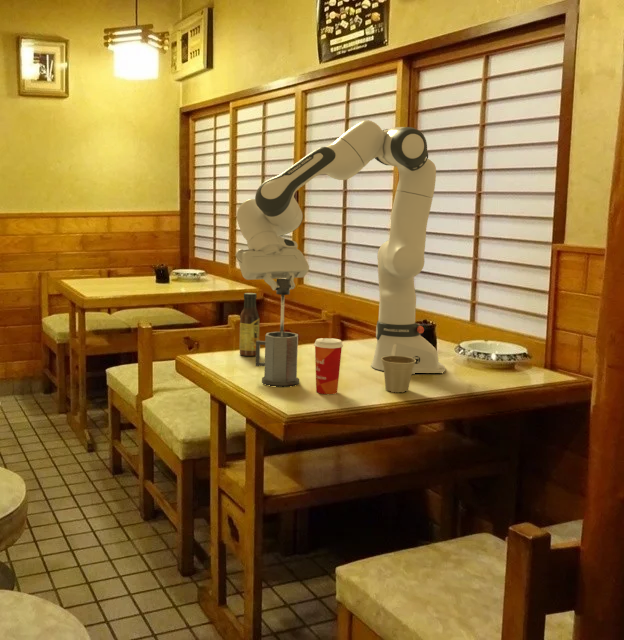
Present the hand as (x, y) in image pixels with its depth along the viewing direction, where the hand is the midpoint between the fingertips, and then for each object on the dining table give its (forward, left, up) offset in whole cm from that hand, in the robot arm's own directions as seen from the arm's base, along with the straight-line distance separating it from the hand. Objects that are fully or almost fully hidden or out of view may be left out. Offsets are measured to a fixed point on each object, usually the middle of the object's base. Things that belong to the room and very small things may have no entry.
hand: (284, 288), depth 214 cm
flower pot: (-32, +2, -27) cm, 41 cm away
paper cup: (-13, +7, -27) cm, 30 cm away
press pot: (0, -1, -26) cm, 26 cm away
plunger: (0, -1, -15) cm, 15 cm away
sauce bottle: (+13, -36, -27) cm, 46 cm away
